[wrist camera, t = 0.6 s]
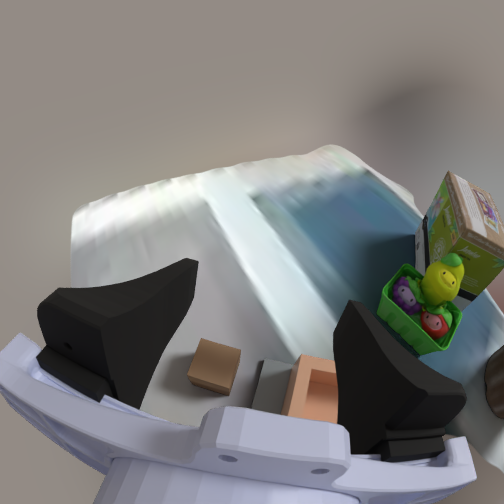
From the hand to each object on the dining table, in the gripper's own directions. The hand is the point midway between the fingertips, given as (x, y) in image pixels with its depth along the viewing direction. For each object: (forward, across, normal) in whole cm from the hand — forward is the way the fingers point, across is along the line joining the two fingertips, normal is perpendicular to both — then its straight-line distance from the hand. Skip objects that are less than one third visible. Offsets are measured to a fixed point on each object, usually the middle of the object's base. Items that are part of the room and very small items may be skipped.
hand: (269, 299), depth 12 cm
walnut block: (+8, +2, +16) cm, 18 cm away
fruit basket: (+18, -21, +11) cm, 30 cm away
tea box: (+28, -28, +6) cm, 40 cm away
